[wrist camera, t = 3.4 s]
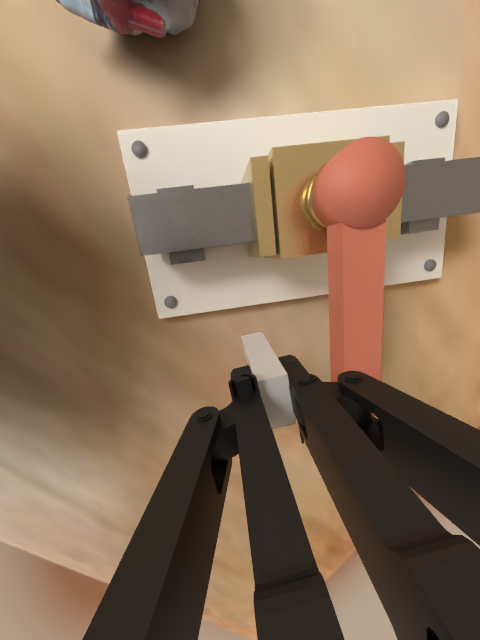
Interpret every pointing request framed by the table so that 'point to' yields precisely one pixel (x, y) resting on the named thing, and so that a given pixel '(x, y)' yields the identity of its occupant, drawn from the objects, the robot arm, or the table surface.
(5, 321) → the table surface
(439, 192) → the pipe valve
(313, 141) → the mount board
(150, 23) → the brake caliper
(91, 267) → the table surface
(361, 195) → the lever
